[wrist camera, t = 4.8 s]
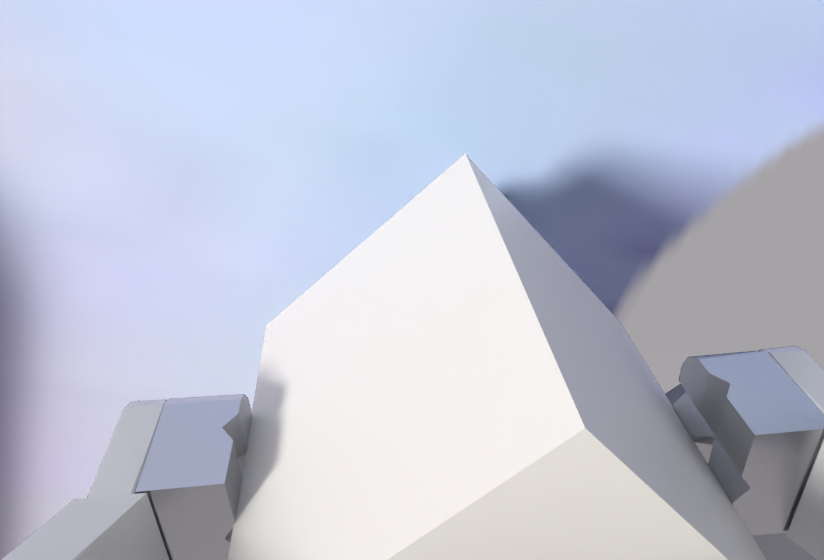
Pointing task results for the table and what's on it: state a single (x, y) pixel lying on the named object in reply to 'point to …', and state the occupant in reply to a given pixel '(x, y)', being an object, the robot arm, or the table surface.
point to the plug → (468, 409)
